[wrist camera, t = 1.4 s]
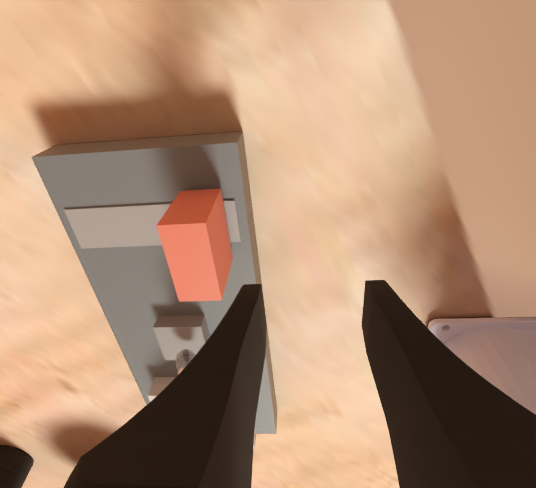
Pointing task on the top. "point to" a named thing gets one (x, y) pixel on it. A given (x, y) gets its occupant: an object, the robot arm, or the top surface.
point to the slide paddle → (197, 244)
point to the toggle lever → (183, 359)
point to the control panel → (154, 243)
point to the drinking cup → (13, 467)
